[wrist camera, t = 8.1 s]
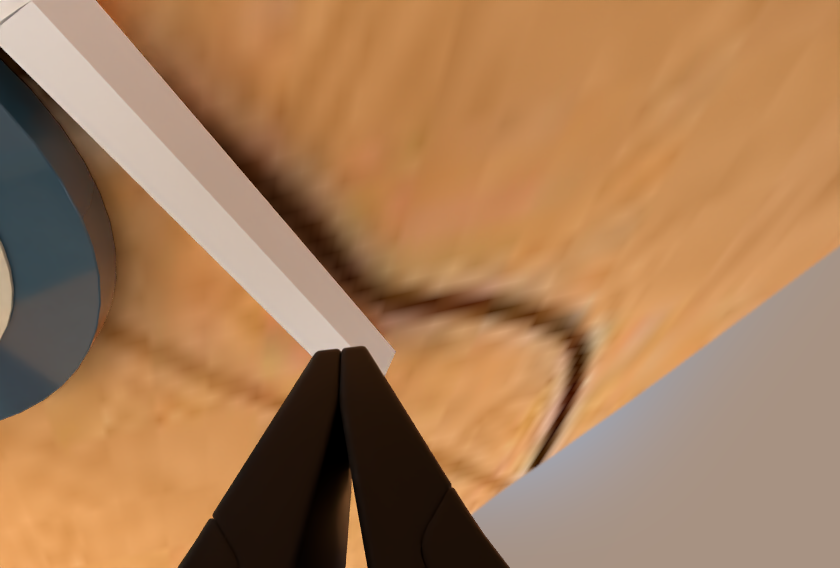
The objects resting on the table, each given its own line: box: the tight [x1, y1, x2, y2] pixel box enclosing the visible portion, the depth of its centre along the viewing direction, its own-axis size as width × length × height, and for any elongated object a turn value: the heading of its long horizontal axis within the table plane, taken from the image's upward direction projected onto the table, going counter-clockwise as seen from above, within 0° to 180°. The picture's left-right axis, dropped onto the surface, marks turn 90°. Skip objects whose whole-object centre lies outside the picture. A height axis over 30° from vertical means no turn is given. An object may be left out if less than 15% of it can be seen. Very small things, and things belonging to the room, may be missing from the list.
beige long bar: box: [0, 0, 396, 377], centre depth 15 cm, size 3×2×16 cm
